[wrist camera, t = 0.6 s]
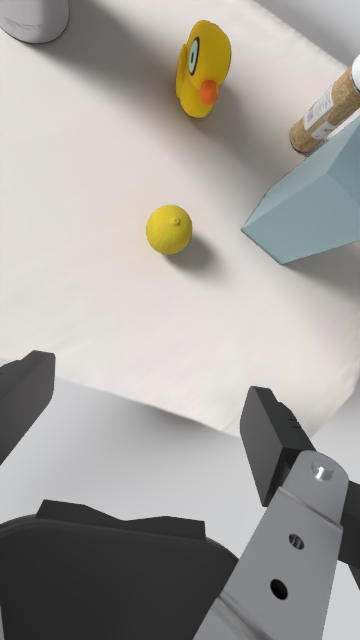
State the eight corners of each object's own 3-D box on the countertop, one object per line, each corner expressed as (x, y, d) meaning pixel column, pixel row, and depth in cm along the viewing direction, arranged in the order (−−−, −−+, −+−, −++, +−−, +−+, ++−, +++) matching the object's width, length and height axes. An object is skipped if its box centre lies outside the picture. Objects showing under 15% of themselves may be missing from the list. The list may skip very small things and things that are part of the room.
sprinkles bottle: (305, 159, 43) (388, 92, 30) (283, 140, 42) (359, 61, 29) (319, 136, 44) (407, 60, 31) (297, 116, 43) (379, 28, 30)
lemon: (147, 214, 38) (156, 187, 30) (186, 225, 39) (204, 202, 31) (139, 254, 38) (145, 238, 30) (178, 264, 39) (195, 251, 31)
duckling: (210, 146, 40) (241, 92, 30) (173, 141, 39) (192, 82, 29) (210, 64, 40) (242, -18, 30) (173, 56, 38) (192, -32, 29)
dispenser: (280, 264, 42) (386, 232, 26) (240, 230, 41) (326, 172, 24) (308, 223, 43) (427, 166, 27) (270, 188, 42) (371, 105, 25)
